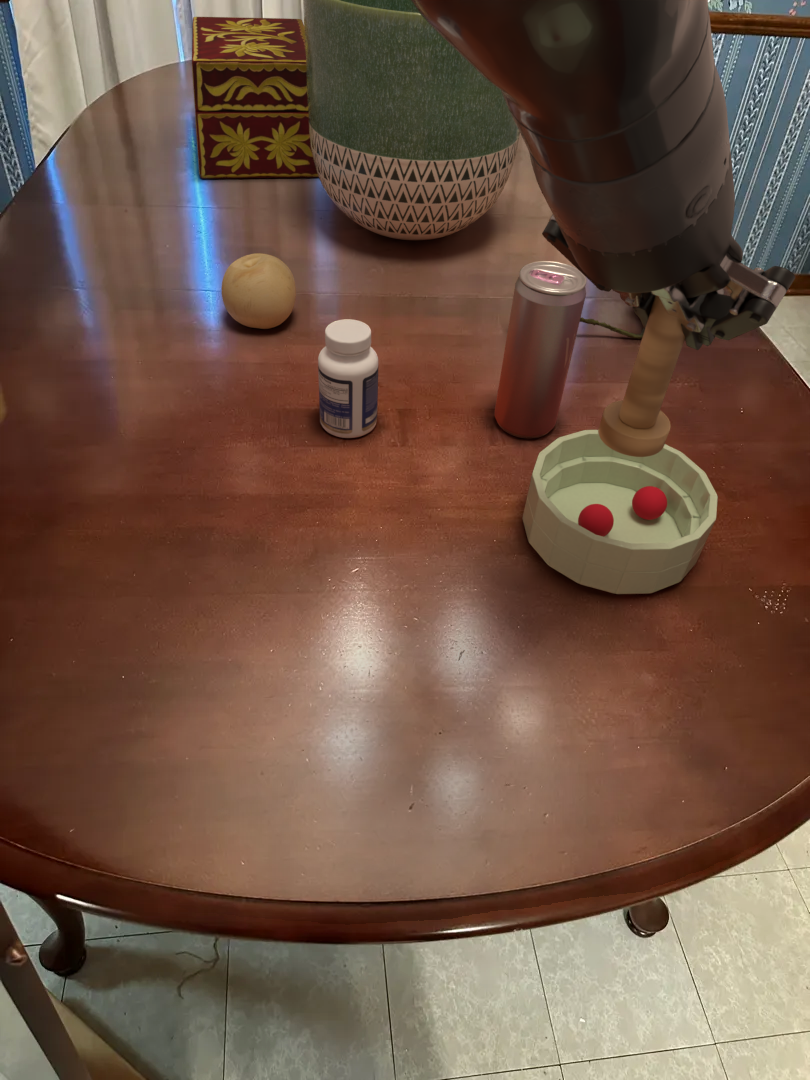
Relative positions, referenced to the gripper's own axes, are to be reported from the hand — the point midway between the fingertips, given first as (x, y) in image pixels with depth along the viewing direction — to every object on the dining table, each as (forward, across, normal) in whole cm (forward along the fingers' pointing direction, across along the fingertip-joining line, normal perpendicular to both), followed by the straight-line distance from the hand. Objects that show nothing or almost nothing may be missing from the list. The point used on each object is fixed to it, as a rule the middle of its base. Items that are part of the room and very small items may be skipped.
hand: (679, 324), depth 48 cm
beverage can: (+23, +15, +7) cm, 28 cm away
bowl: (+17, +1, +13) cm, 21 cm away
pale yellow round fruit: (+19, +47, +11) cm, 52 cm away
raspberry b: (+18, 0, +9) cm, 20 cm away
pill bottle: (+14, +27, +16) cm, 34 cm away
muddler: (+4, 0, +7) cm, 8 cm away
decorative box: (+44, +88, -14) cm, 100 cm away
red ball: (+14, +2, +12) cm, 19 cm away
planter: (+41, +52, -11) cm, 67 cm away
